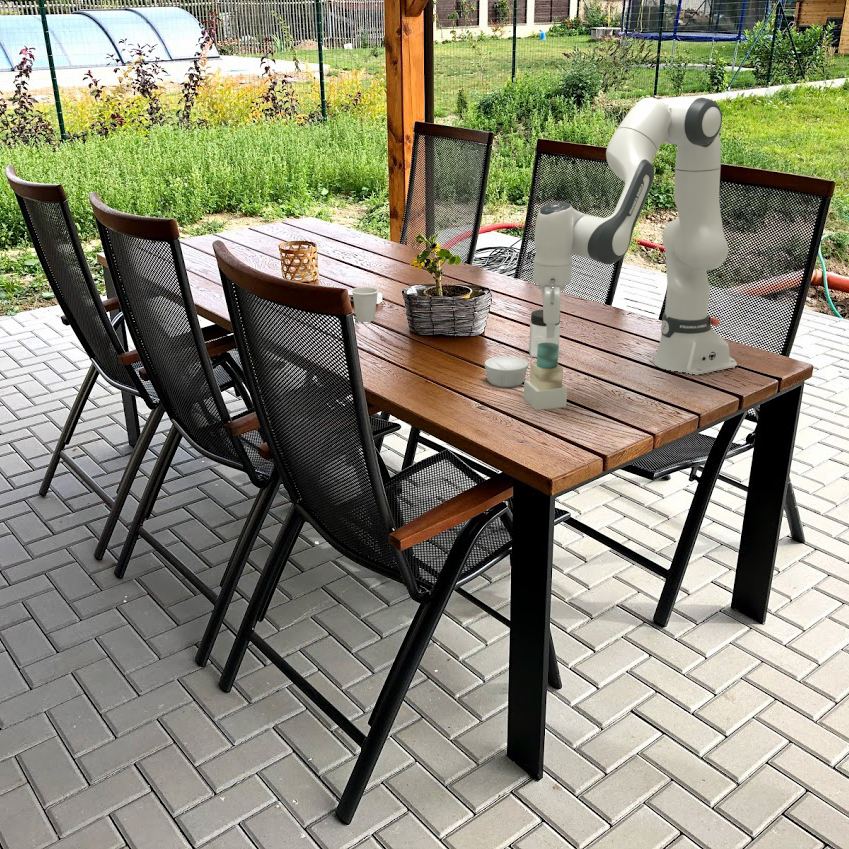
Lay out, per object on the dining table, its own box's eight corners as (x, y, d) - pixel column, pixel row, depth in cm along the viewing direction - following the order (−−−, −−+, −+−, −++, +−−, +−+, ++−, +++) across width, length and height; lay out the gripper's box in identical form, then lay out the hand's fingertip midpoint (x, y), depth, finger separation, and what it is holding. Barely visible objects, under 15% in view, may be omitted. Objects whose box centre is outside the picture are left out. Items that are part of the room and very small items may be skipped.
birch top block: (551, 379, 230) (553, 360, 228) (561, 387, 225) (563, 368, 223) (529, 381, 228) (530, 362, 226) (539, 389, 223) (540, 370, 221)
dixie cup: (377, 324, 288) (377, 293, 285) (351, 324, 289) (350, 293, 285) (379, 317, 296) (379, 286, 292) (353, 317, 296) (352, 286, 292)
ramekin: (475, 382, 242) (476, 363, 239) (499, 371, 250) (500, 352, 248) (512, 392, 235) (512, 372, 233) (535, 380, 243) (536, 361, 241)
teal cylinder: (552, 361, 227) (553, 341, 226) (560, 367, 223) (561, 348, 221) (533, 362, 226) (534, 343, 224) (541, 369, 222) (542, 349, 220)
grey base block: (553, 396, 233) (554, 377, 231) (566, 407, 226) (567, 388, 224) (523, 399, 231) (524, 380, 229) (535, 410, 224) (536, 391, 222)
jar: (523, 355, 262) (525, 314, 257) (534, 347, 268) (536, 307, 263) (552, 360, 258) (555, 319, 253) (563, 352, 264) (566, 312, 259)
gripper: (567, 285, 206) (564, 344, 211) (564, 264, 224) (562, 319, 230) (538, 285, 206) (536, 344, 212) (538, 263, 225) (536, 318, 231)
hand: (549, 331), depth 221 cm, fingers open, 8 cm apart
